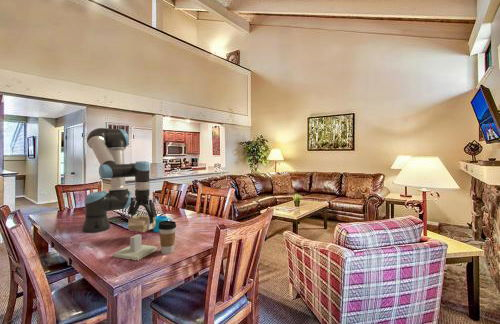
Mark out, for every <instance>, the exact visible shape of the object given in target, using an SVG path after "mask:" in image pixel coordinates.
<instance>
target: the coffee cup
mask: <svg viewBox="0 0 500 324" xmlns="http://www.w3.org/2000/svg"><path fill="white" fill-rule="evenodd" d="M158 227H159V230H160V232H158V233H159V241H160V242H159V243H160V253H161V254H164V255H168V254H169V255H170V254H172V253H174V251H175V250H174V249H175V239H176V228H177V225H176V221H174V220H172V221H170V220H167V221H161V222H159V226H158Z"/></svg>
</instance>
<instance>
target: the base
mask: <svg viewBox="0 0 500 324" xmlns="http://www.w3.org/2000/svg"><path fill="white" fill-rule="evenodd" d="M142 236H143V235H142V234H139V233H138V234H135V235H133V236H130V237H129V246H126V247H124V248H122V249H120V250H118V251H116V252H113V257H114V258H118V259H125V260H130V259H132V261H136V260H138V261H140V260H141V258H142V259H143V257H144V258H145V257H146V256H149V255H150V254H152V253H154V252H156V251H158V246H154V245H147V244H142V243H143V241H142V240H143V239H142V238H143V237H142ZM139 259H140V260H139Z"/></svg>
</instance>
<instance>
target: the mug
mask: <svg viewBox="0 0 500 324" xmlns="http://www.w3.org/2000/svg"><path fill="white" fill-rule="evenodd" d="M161 221H173V220H172V219H171V218H170V217H168V216H166V215H157V216H156V217H155V227H154V228H153V232H154V233H159V232H160V230H159V227H158V226H159V222H161Z"/></svg>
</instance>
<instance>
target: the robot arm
mask: <svg viewBox="0 0 500 324" xmlns="http://www.w3.org/2000/svg"><path fill="white" fill-rule="evenodd" d="M129 142H130V139H129V134H128V132H127V131H126V130H125V129H120V128H105V127H99V128H98V127H97V128H94V129H93V130H91V131H90V132H89V133H88V134H87V136H86V144H87V146H88V148H90V149H91V150H92V151H93V153H94V155H95V157H96V160H97V161H98V163H99V167H98V174H99V177H100V178H101V179H108V180H109V179H110V188H109V189H108V192H107V191H105V190H101V191H94V192H91V193H88V194H86V195H85V197H84V207H85V208H84V211H85V212H84V215H85V219H84V222H83V224H82V228H81V229H82V230H81V231H82V232H83V233H87V234H88V233H89V234H92V233H94V234H95V233H102V232H105V231H107V230H109V229H110V228H111V222H109V218H108V215H107V212H111V211H117V210H118V211H119V210H125V209H128V211H127V213H128V215H130V216H131V217H130V219H131V218H133V217H136V216H138V215H137V212H138V210H139V208H140V206H142V207H143V208H144V209H145V211H146V214H147V216H149V218H148V230H147V231H150V230H152V229H153V228H152V223H153V218H154V217H156V216H158V215H157V211H156V210H157V209H156V206H155V199H154V198H150V197H149V196H150V186H151V185H150V179H151V178H150V170H151V168H150V167H151V166H150V165H151V164H150V162H149V161H138V160H137V161H135V163H134V162H133V163H125V156H124V155H125V154H124V151H125V150H126V148H127V146H129ZM131 177H134V189H135V190H134V197H133V195H132V191H130V190H129V188H128V187H127V185H126V178H131Z"/></svg>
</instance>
